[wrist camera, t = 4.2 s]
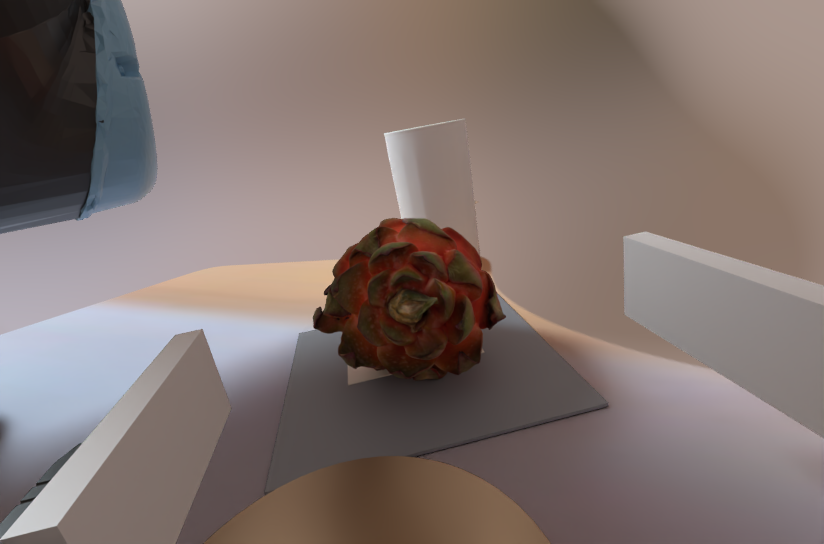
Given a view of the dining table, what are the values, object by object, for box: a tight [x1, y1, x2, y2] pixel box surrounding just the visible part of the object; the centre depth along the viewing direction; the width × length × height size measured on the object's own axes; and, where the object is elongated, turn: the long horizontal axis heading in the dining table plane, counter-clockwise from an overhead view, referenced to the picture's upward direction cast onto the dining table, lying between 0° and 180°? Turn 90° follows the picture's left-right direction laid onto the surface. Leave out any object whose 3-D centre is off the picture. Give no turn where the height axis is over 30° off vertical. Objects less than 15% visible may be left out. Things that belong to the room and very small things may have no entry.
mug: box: [384, 119, 480, 256], centre depth 38 cm, size 10×7×12 cm, turn 26°
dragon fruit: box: [313, 218, 506, 381], centre depth 22 cm, size 8×8×12 cm
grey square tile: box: [265, 294, 608, 495], centre depth 23 cm, size 14×14×1 cm
